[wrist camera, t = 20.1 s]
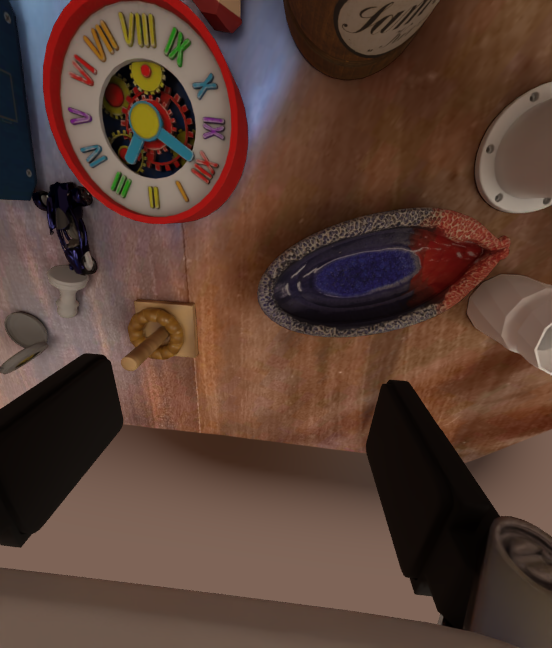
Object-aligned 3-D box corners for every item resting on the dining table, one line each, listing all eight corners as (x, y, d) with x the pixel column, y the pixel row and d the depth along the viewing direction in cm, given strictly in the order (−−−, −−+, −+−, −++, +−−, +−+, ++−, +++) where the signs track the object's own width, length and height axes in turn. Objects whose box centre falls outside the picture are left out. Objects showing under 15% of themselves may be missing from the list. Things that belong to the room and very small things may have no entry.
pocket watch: (9, 305, 43) (-70, 330, 34) (60, 322, 43) (-3, 351, 34) (12, 346, 46) (-59, 380, 37) (60, 362, 47) (2, 399, 37)
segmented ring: (183, 308, 40) (177, 313, 38) (187, 357, 43) (182, 363, 41) (129, 304, 40) (120, 309, 38) (137, 353, 43) (130, 359, 41)
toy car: (42, 185, 35) (14, 182, 32) (86, 180, 35) (62, 176, 31) (77, 274, 40) (55, 280, 36) (116, 270, 39) (98, 276, 36)
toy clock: (80, -90, 21) (278, 86, 25) (123, -30, 27) (281, 109, 30) (20, 147, 28) (181, 259, 32) (64, 157, 34) (198, 252, 37)
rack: (195, 303, 40) (160, 334, 30) (198, 354, 44) (168, 397, 34) (137, 298, 41) (84, 327, 31) (145, 349, 44) (100, 391, 34)
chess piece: (74, 262, 40) (72, 303, 44) (38, 267, 36) (39, 312, 40) (96, 279, 39) (92, 319, 43) (62, 287, 35) (61, 330, 39)
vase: (525, 261, 35) (631, 283, 24) (538, 314, 38) (639, 357, 27) (457, 292, 37) (525, 326, 26) (474, 341, 40) (543, 390, 29)
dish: (248, 238, 36) (242, 241, 32) (492, 187, 32) (525, 183, 27) (271, 338, 42) (268, 353, 37) (481, 306, 38) (506, 319, 33)
